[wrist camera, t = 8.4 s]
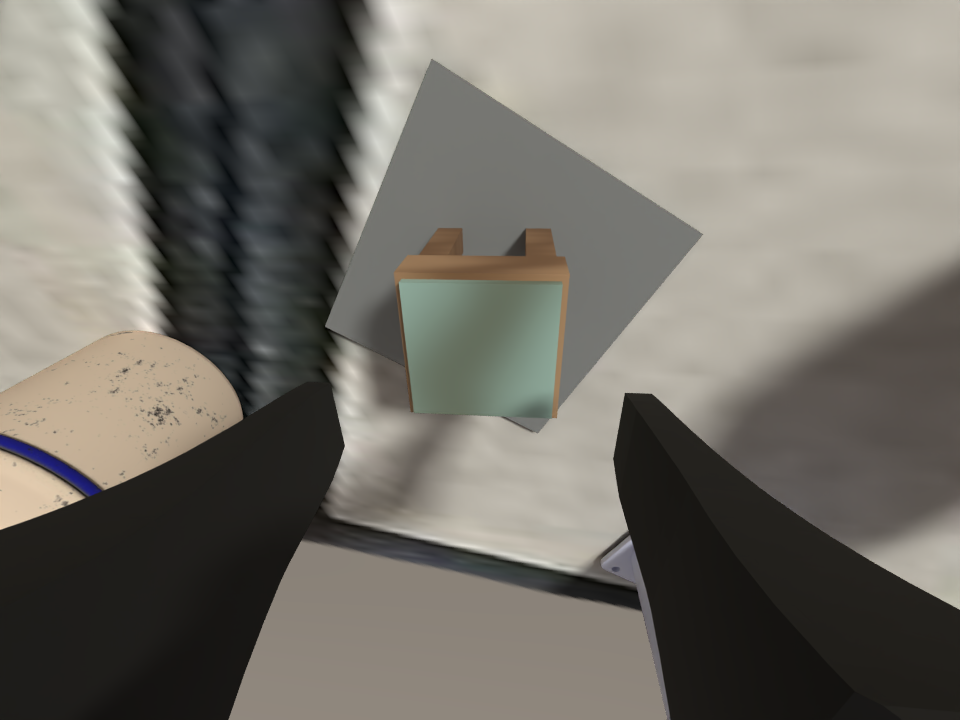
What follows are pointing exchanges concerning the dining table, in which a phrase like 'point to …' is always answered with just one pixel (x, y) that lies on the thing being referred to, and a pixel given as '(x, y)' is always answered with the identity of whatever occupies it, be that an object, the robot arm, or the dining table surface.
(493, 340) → the stool
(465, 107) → the mat
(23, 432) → the teacup with lid
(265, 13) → the dining table surface
